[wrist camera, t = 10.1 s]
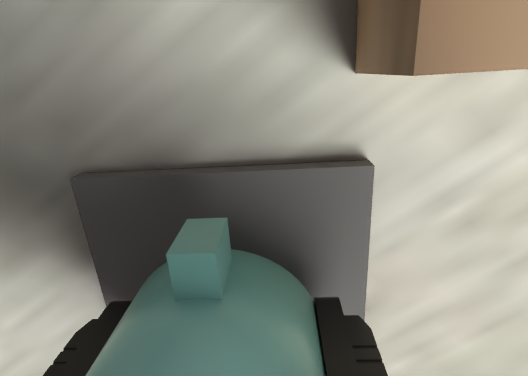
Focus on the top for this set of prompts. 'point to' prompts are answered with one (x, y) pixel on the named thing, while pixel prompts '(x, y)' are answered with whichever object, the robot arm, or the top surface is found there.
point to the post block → (441, 36)
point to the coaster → (235, 221)
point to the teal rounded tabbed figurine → (215, 315)
